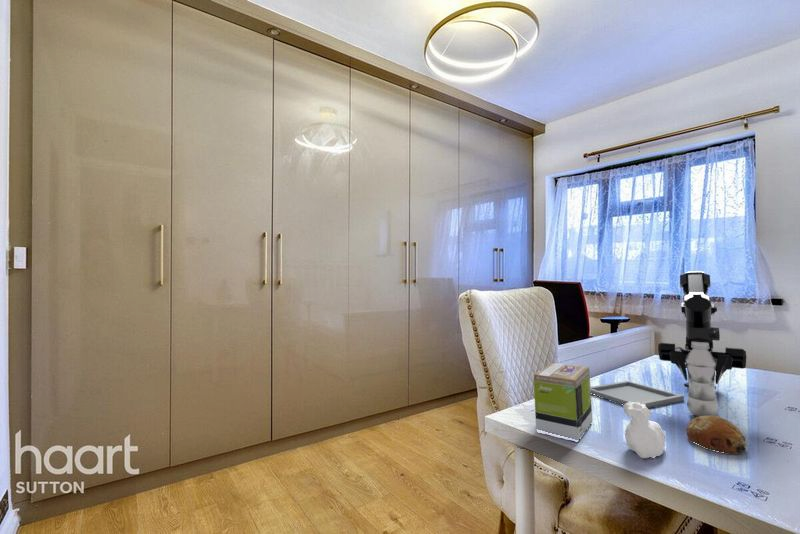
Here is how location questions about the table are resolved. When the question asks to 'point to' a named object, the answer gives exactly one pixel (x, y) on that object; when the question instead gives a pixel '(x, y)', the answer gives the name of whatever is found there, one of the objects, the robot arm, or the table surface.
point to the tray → (636, 394)
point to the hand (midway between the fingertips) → (701, 381)
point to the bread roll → (716, 434)
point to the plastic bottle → (701, 380)
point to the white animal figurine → (643, 431)
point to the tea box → (563, 400)
